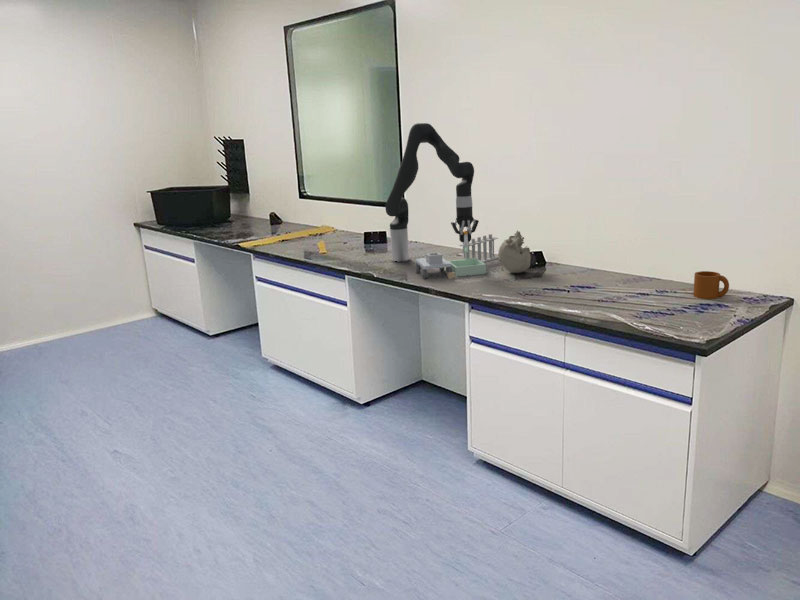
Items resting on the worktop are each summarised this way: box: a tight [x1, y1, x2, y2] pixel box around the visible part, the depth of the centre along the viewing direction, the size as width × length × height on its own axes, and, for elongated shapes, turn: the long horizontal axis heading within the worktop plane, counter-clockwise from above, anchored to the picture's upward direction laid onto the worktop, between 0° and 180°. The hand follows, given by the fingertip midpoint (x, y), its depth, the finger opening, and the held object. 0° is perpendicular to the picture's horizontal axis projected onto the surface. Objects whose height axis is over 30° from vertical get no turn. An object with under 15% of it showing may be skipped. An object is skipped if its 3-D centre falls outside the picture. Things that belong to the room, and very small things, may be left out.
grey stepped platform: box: [414, 251, 456, 280], centre depth 298 cm, size 20×14×10 cm
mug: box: [692, 270, 730, 300], centre depth 239 cm, size 9×12×9 cm
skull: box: [497, 230, 531, 274], centre depth 291 cm, size 13×15×20 cm
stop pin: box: [462, 230, 470, 254], centre depth 297 cm, size 3×3×10 cm
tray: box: [447, 257, 487, 278], centre depth 301 cm, size 15×15×4 cm
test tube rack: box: [459, 233, 499, 264], centre depth 317 cm, size 25×4×13 cm, turn 132°
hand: (465, 241), depth 297 cm, fingers closed on stop pin, 2 cm apart
